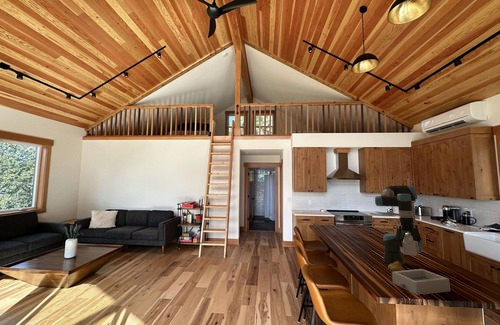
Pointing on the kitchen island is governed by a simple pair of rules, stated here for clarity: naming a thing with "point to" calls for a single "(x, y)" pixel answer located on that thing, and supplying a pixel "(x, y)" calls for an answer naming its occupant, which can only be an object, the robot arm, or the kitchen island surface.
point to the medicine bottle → (410, 245)
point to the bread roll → (395, 267)
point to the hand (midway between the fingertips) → (409, 251)
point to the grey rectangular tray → (421, 281)
